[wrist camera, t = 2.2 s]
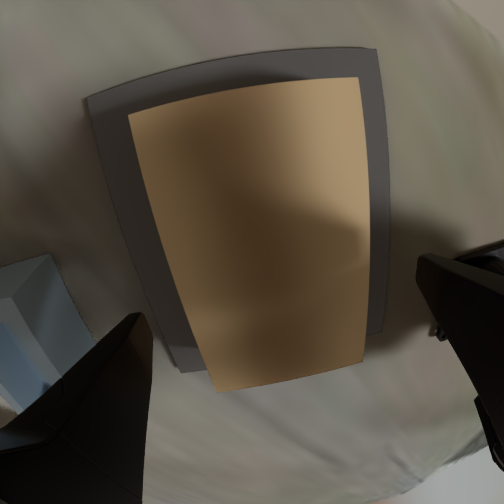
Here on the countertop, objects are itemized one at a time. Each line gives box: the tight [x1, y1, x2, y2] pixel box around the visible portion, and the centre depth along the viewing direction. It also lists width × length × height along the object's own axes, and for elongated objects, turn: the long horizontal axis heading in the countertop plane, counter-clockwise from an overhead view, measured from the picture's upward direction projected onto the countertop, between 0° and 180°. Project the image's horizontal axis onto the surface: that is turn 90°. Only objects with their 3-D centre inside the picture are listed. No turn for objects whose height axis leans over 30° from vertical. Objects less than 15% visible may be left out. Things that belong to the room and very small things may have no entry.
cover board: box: [128, 77, 370, 393], centre depth 12 cm, size 7×12×3 cm, turn 10°
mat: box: [87, 48, 390, 373], centre depth 13 cm, size 12×15×1 cm
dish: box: [0, 253, 96, 415], centre depth 14 cm, size 7×10×4 cm, turn 9°
